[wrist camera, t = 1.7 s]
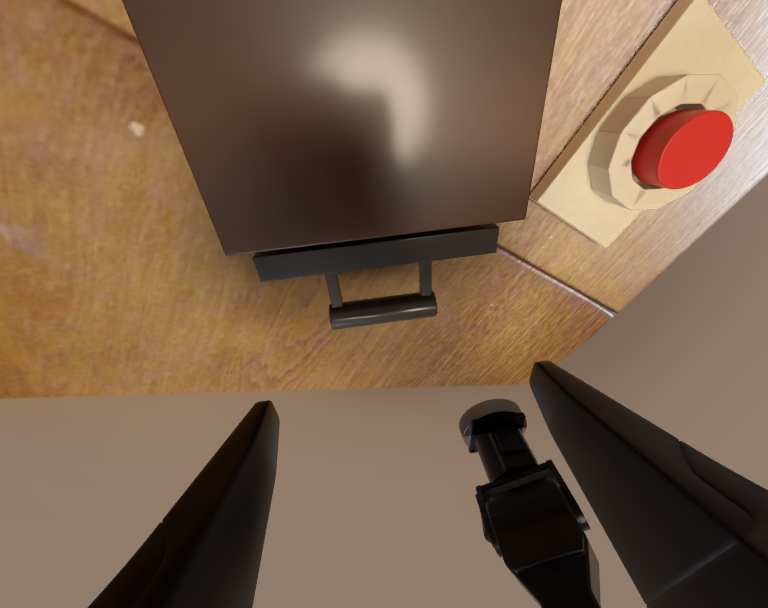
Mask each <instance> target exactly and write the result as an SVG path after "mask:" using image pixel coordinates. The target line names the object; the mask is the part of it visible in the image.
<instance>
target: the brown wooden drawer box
mask: <svg viewBox="0 0 768 608" xmlns="http://www.w3.org/2000/svg"><path fill="white" fill-rule="evenodd" d="M122 1H123V4H124V6H125V9H126V11H127V14H128V16H129V19H130V21H131V23H132V26H133V28H134V31H135V33H136V36H137V38H138V41H139V43H140V46H141V48H142V50H143V53H144V55H145V58H146V60H147V63H148V65H149V68H150V70H151V73H152V75H153V78H154V80H155V82H156V85H157V87H158V90H159V92H160V95H161V97H162V100H163V102H164V105H165V107H166V109H167V112H168V114H169V117H170V119H171V122H172V124H173V127H174V129H175V132H176V134H177V136H178V139H179V141H180V144H181V146H182V149H183V151H184V154H185V156H186V159H187V161H188V164H189V166H190V168H191V171H192V173H193V176H194V178H195V181H196V183H197V186H198V188H199V191H200V193H201V195H202V198H203V200H204V203H205V205H206V208H207V210H208V213H209V215H210V218H211V220H212V222H213V225H214V227H215V230H216V232H217V235H218V237H219V240H220V242H221V245H222V247H223V250H224V252H225V254H226V256H231V255H239V254H247V253H256V252H264V251H272V250H280V249H288V248H296V247H304V246H313V245H321V244H329V243H337V242H345V241H353V240H361V239H370V238H378V237H386V236H394V235H402V234H410V233H418V232H427V231H435V230H443V229H451V228H459V227H467V226H475V225H484V224H492V223H500V222H508V221H516V220H524V219H525V217H526V211H527V206H528V200H529V194H530V188H531V182H532V176H533V170H534V164H535V158H536V152H537V146H538V140H539V134H540V128H541V122H542V116H543V110H544V104H545V98H546V93H547V87H548V81H549V75H550V69H551V63H552V57H553V51H554V45H555V39H556V33H557V27H558V21H559V15H560V9H561V3H562V0H122Z"/></svg>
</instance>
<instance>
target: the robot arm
mask: <svg viewBox="0 0 768 608" xmlns="http://www.w3.org/2000/svg"><path fill="white" fill-rule="evenodd" d="M530 387H531V389H532V391H533V394H534V396H535V398H536V401H537V403H538V405H539V408H540V410H541V413H542V415H543V417H544V419H545V422H546V424H547V426H548V429H549V431H550V433H551V435H552V436H553V438H554V440H555V442H556V444H557V446H558V448H559V449H560V451H561V453H562V455H563V456H564V458H565V460H566V462H567V464H568V466H569V467H570V469H571V471H572V473H573V475H574V476H575V478H576V480H577V482H578V484H579V485H580V487H581V489H582V491H583V493H584V494H585V496H586V498H587V500H588V502H589V503H590V505H591V507H592V508H593V510H594V512H595V514H596V516H597V518H598V519H599V521H600V523H601V525H602V527H603V529H604V530H605V532H606V534H607V536H608V537H609V539H610V541H611V543H612V545H613V547H614V548H615V550H616V552H617V554H618V556H619V557H620V559H621V561H622V563H623V564H624V566H625V568H626V570H627V572H628V573H629V575H630V577H631V579H632V581H633V583H634V584H635V586H636V588H637V589H638V591H639V593H640V595H641V597H642V599H643V600H644V602H645V603H646V604H647V608H768V490H766V489H764V488H763V487H761V486H759V485H757V484H755V483H753V482H751V481H750V480H748V479H746V478H744V477H743V476H741V475H739V474H737V473H735V472H733V471H732V470H730V469H728V468H726V467H725V466H723V465H721V464H719V463H718V462H716V461H714V460H712V459H710V458H709V457H707V456H706V455H704V454H702V453H701V452H699V451H697V450H696V449H694V448H692V447H691V446H689V445H687V444H686V443H684V442H682V441H679V440H678V439H677V438H676V437H674V436H672V435H671V434H669V433H667V432H666V431H664V430H662V429H661V428H659V427H658V426H656V425H654V424H653V423H651V422H649V421H648V420H646V419H644V418H642V417H641V416H639V415H638V414H636V413H634V412H633V411H631V410H629V409H628V408H626V407H625V406H623V405H621V404H620V403H618V402H616V401H615V400H613V399H611V398H610V397H608V396H606V395H605V394H603V393H601V392H600V391H598V390H596V389H595V388H593V387H591V386H590V385H588V384H586V383H585V382H583V381H582V380H580V379H578V378H577V377H575V376H573V375H572V374H570V373H568V372H567V371H565V370H563V369H561V368H560V367H558V366H557V365H555V364H554V363H552V362H550V361H540V362H536V363H535V364H534V365H533V369H532V373H531V376H530ZM525 418H526V416H525V414H524V413H523V412H520V413H513V414H506V415H500V416H493V417H486V418H479V419H474V420H472V421H471V428H470V437H469V446H468V449H469V452H470V453H475V452H478V453H479V455H480V458H481V461H482V463H483V466H484V468H485V471H486V474H487V477H488V479H489V482H490V483H488V484H485V485H482V486H480V485H479V486H477V487H476V490H477V494H476V499H477V502H478V505H479V508H480V512H481V518H482V525H483V532H484V536H485V538H486V540H487V541H488V542H490V543H491V544H492V545H493V547H494V548H495V550H496V552H497V554H498V555H499V557H503V559H504V562H505V564H506V566H507V567H508V568H509V570H510V571H511V572H512V573H513V575H514V576H515V577H516V579H517V580H518V581H519V582H520V584H521V585H522V586H523V587H524V589H525V590H526V591H527V592H528V593H529V594H530V595H531V596H532V597H533V599H534V600H535V601H536V602H537V603H538V604H539V605H540V606H541V608H601V605H600V580H599V563H598V560H597V558H596V556H595V554H594V551H593V549H592V547H591V545H590V543H589V541H588V539H587V537H586V535H585V533H584V531H586V530H589V529H590V527H589V525H588V523H587V520H586V519H585V517H584V515H583V513H582V511H581V509H580V508H579V506H578V504H577V502H576V500H575V499H574V497H573V495H572V494H571V492H570V490H569V489H568V487H567V485H566V484H565V482H564V481H563V479H562V477H561V475H560V474H559V472H558V471H557V469H556V467H555V465H554V464H553V462H552V460H551V459H550V460H547V461H546V462H545V463H542V464H538V462H537V460H536V458H535V456H534V455H533V453H532V451H531V449H530V447H529V445H528V443H527V442H526V440H525V438H524V436H523V434H522V430H523V426H524V422H525ZM278 438H279V416H278V414H277V412H276V410H275V408H274V405H273V403H272V402H271V401H269V400H267V401H261V402H257V403H256V404H255V405H254V406H253V407H252V408H251V410H250V411H249V412H248V413H247V415H246V416H245V417H244V418H243V420H242V421H241V422H240V423H239V425H238V426H237V427H236V428H235V430H234V431H233V432H232V434H231V435H230V436H229V438H227V440H226V441H225V442H224V444H223V445H222V446H221V447H220V449H219V450H218V451H217V452H216V453H215V455H214V456H213V457H212V458H211V460H210V461H209V462H208V463H207V465H206V466H205V467H204V469H203V470H202V471H201V472H200V474H199V475H198V476H197V477H196V478H195V480H194V481H193V482H192V483H191V485H190V486H189V487H188V489H187V490H186V491H185V492H184V494H183V495H182V496H181V497H180V499H179V500H178V501H177V502H176V503H175V505H174V506H173V507H172V509H171V510H170V511H169V512H168V514H167V515H166V516H165V517H164V519H163V521H162V523H159V525H158V526H157V527H156V528H155V530H154V531H153V532H152V533H151V535H150V536H149V537H148V538H147V540H146V541H145V542H144V543H143V545H142V546H141V547H140V548H139V549H138V551H137V552H136V553H135V554H134V556H133V557H132V558H131V559H130V560H129V561H128V563H127V564H126V565H125V566H124V567H123V568H122V570H121V571H120V572H119V573H118V574H117V575H116V577H115V578H114V579H113V580H112V581H111V582H110V583H109V584H108V585H107V587H106V588H105V589H104V590H103V591H102V592H101V593H100V594H99V596H98V597H97V598H96V599H95V600H94V601H93V602H92V603H91V605H90V606H89V607H88V608H252V606H253V601H254V595H255V589H256V584H257V578H258V573H259V567H260V561H261V556H262V550H263V544H264V539H265V534H266V528H267V522H268V517H269V511H270V506H271V499H272V494H273V489H274V483H275V476H276V467H277V453H278Z"/></svg>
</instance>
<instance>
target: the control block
mask: <svg viewBox="0 0 768 608" xmlns="http://www.w3.org/2000/svg"><path fill="white" fill-rule="evenodd" d="M765 82H766V81H765V79H764V78H763V77H762V75H761V74H760V73H759V71H758V70H757V69H756V67H755V66H754V64H753V63H752V62H751V60H750V59H749V58H748V56H747V55H746V54H745V52H744V51H743V49H742V48H741V47H740V45H739V44H738V43H737V41H736V40H735V39H734V37H733V36H732V34H731V33H730V32H729V30H728V29H727V28H726V26H725V25H724V24H723V22H722V21H721V19H720V18H719V17H718V15H717V14H716V13H715V11H714V10H713V9H712V7H711V6H710V4H709V3H708V2H707V0H677V1H676V3H675V4H674V5H673V7H672V8H671V9H670V11H669V12H668V13H667V15H666V16H665V17H664V19H663V20H662V21H661V23H660V24H659V25H658V26H657V28H656V29H655V30H654V32H653V33H652V34H651V36H650V37H649V38H648V40H647V41H646V42H645V44H644V45H643V46H642V48H641V49H640V50H639V52H638V53H637V54H636V56H635V57H634V58H633V59H632V61H631V62H630V63H629V65H628V66H627V67H626V69H625V70H624V71H623V73H622V74H621V75H620V77H619V78H618V79H617V81H616V82H615V83H614V85H613V86H612V87H611V88H610V90H609V91H608V92H607V94H606V95H605V96H604V98H603V99H602V100H601V102H600V103H599V104H598V106H597V107H596V108H595V110H594V111H593V112H592V114H591V115H590V116H589V118H588V119H587V120H586V121H585V123H584V124H583V125H582V127H581V128H580V129H579V131H578V132H577V133H576V135H575V136H574V137H573V139H572V140H571V141H570V143H569V144H568V145H567V147H566V148H565V149H564V151H563V152H562V153H561V154H560V156H559V157H558V158H557V160H556V161H555V162H554V164H553V165H552V166H551V168H550V169H549V170H548V172H547V173H546V174H545V176H544V177H543V178H542V180H541V181H540V182H539V183H538V185H537V186H536V187H535V189H534V190H533V191H532V193H531V194H530V195H529V198H530V199H532V200H533V201H534V202H536V203H537V204H539V205H540V206H542V207H543V208H545V209H546V210H548V211H549V212H551V213H552V214H554V215H555V216H557V217H558V218H560V219H561V220H563V221H564V222H566V223H567V224H569V225H570V226H571V227H573V228H574V229H576V230H577V231H579V232H580V233H582V234H583V235H585V236H586V237H588V238H589V239H591V240H592V241H594V242H595V243H597V244H599V245H601V246H602V247H604V248H607V247H608V246H609V245H610V244H611V243H612V242H613V241H614V240H615V239H616V238H617V237H618V236H619V235H620V234H621V232H622V231H623V230H624V229H625V228H626V227H627V226H628V225H629V224H630V223H631V222H632V221H633V220H634V219H635V218H636V217H637V216H638V215H639V214H640V213H641V212H642V211H643V210H644V209H657V208H660V207H662V206H664V205H666V204H668V203H670V202H672V201H673V200H675V199H677V198H679V197H681V196H683V195H685V194H687V193H688V192H689V191H690V190H691V189H692V188H693V187H694V186H695V185H696V184H697V183H698V182H697V183H695V184H693V185H691V186H689V187H686V188H682V189H668V188H664V187H660V186H656V185H652V184H649V183H645V182H642V181H641V180H639V179H638V178H637V177H636V175H635V173H634V171H633V157H634V153H635V150H636V148H637V145H638V143H639V142H640V140H641V138H642V137H643V135H644V134H645V133H646V131H647V130H648V129H649V128H650V127H651V126H652V125H653V124H654V123H655V122H657V121H658V120H659V119H661V118H662V117H664V116H665V115H667V114H669V113H672V112H674V111H678V110H719V111H722V112H724V113H726V114H727V115H728V116H729V117H730V118H731V120H732V123H733V132H734V130H735V126H736V113H737V111H738V110H739V109H740V108H741V107H742V106H743V105H744V104H745V103H746V102H747V101H748V100H749V99H750V98H751V97H752V96H753V94H754V93H755V92H756V91H757V90H758V89H759V88H760V87H761V86H762V85H763V84H764V83H765Z"/></svg>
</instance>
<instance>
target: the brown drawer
mask: <svg viewBox="0 0 768 608" xmlns="http://www.w3.org/2000/svg"><path fill="white" fill-rule="evenodd" d="M498 233H499V227H498V226H497V225H496V224H495V223H492V224H484V225H475V226H467V227H459V228H451V229H443V230H435V231H427V232H418V233H410V234H402V235H394V236H386V237H378V238H370V239H361V240H353V241H345V242H337V243H329V244H321V245H313V246H304V247H296V248H288V249H280V250H272V251H264V252H256V253H255V255H254V256H253V260H254V263H255V265H256V268H257V271H258V274H259V277H260V279H261V282H267V281H275V280H282V279H290V278H298V277H306V276H314V275H322V274H325V277H326V281H327V286H328V290H329V295H330V300H331V304H330V305H329V316H330V322H331V326H332V329H333V330H336V329H343V328H351V327H358V326H366V325H373V324H381V323H388V322H396V321H403V320H411V319H418V318H426V317H433V316H436V315H437V303H436V297H435V294H434V292H433V291H432V267H431V261H433V260H441V259H449V258H457V257H465V256H473V255H480V254H488V253H495V252H496V250H497V241H498ZM417 262H419V291H420V292H418V293H410V294H403V295H395V296H387V297H379V298H372V299H364V300H356V301H349V302H343V299H342V294H341V288H340V283H339V278H338V272H346V271H354V270H362V269H370V268H377V267H385V266H393V265H401V264H409V263H417Z"/></svg>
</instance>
